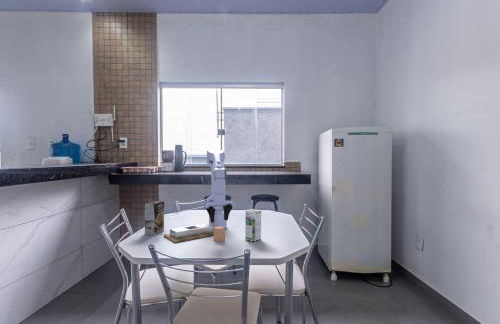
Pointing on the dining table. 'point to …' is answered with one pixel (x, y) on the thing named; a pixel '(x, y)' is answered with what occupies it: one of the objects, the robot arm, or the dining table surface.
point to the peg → (219, 233)
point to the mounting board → (188, 237)
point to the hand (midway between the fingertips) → (219, 221)
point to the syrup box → (253, 225)
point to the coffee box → (154, 217)
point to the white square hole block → (191, 230)
